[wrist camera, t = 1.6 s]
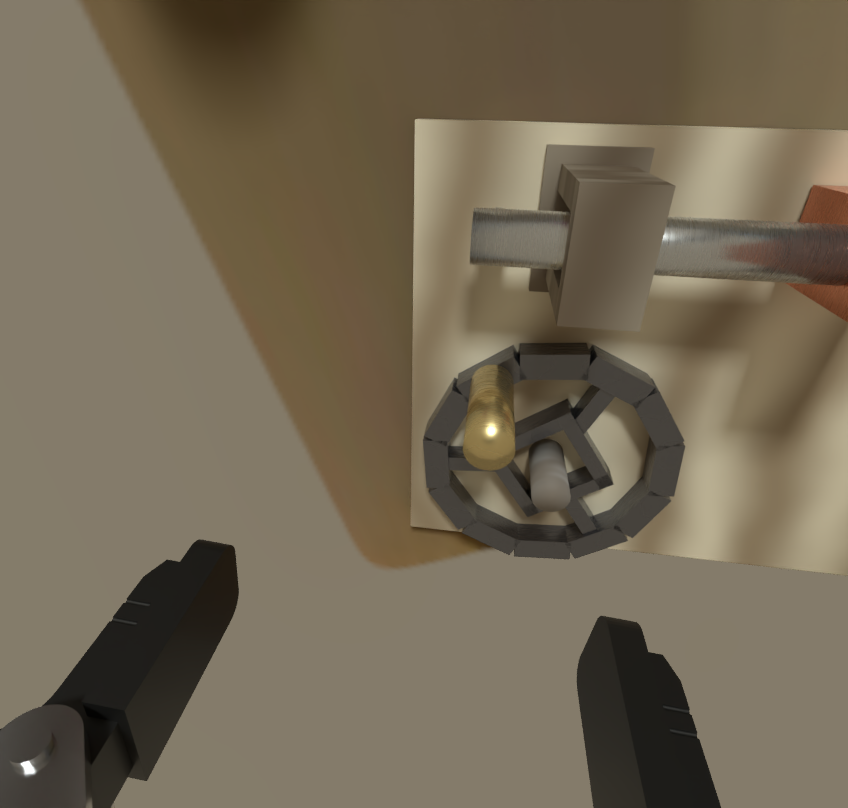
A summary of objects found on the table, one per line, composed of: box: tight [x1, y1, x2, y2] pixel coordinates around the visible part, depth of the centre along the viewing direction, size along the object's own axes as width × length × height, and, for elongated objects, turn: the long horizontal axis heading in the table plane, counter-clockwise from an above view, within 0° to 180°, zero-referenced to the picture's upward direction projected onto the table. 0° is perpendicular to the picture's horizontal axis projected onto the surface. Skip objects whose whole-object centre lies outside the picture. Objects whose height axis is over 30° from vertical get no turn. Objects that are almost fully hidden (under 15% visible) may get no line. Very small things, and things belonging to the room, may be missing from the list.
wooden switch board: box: [411, 119, 848, 576], centre depth 25 cm, size 30×24×8 cm
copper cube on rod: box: [470, 185, 848, 322], centre depth 20 cm, size 18×4×8 cm, turn 89°
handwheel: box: [423, 343, 685, 559], centre depth 27 cm, size 14×14×8 cm
